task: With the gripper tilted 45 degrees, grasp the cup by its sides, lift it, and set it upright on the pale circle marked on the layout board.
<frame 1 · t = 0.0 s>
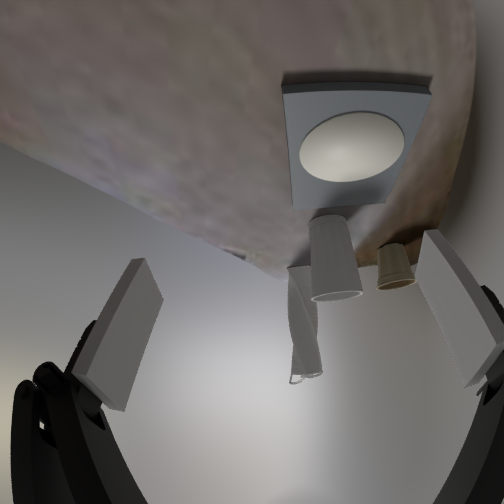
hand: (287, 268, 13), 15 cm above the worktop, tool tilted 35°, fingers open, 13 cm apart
skyscraper: (297, 268, 70), on the worktop
cup: (327, 222, 45), on the worktop
layout board: (348, 153, 28), on the worktop
flower pot: (389, 246, 58), on the worktop
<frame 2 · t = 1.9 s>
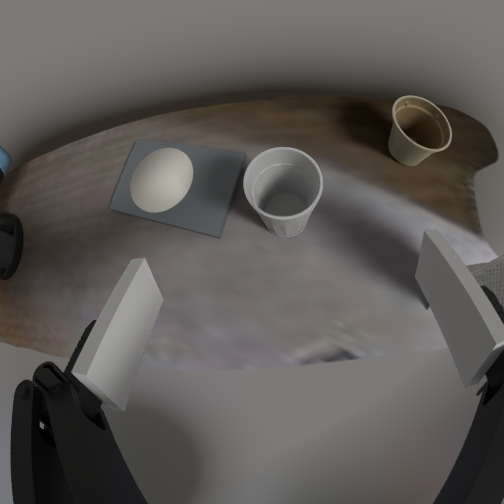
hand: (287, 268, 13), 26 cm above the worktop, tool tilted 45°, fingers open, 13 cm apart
skyscraper: (443, 295, 34), on the worktop
cup: (285, 215, 40), on the worktop
layout board: (174, 183, 43), on the worktop
flower pot: (404, 150, 39), on the worktop
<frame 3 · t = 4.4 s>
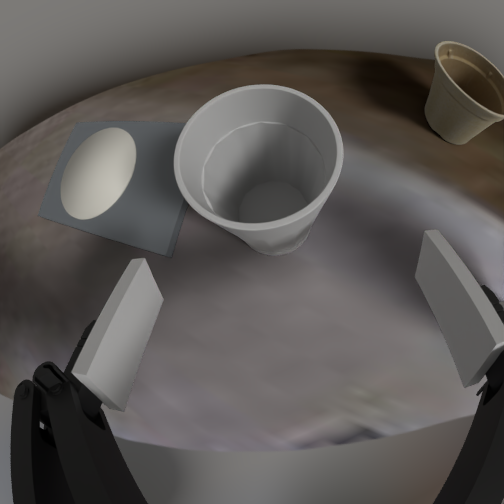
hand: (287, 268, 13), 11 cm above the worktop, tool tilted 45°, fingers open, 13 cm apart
skyscraper: (503, 333, 19), on the worktop
cup: (274, 219, 24), on the worktop
layout board: (113, 177, 27), on the worktop
flower pot: (446, 123, 23), on the worktop
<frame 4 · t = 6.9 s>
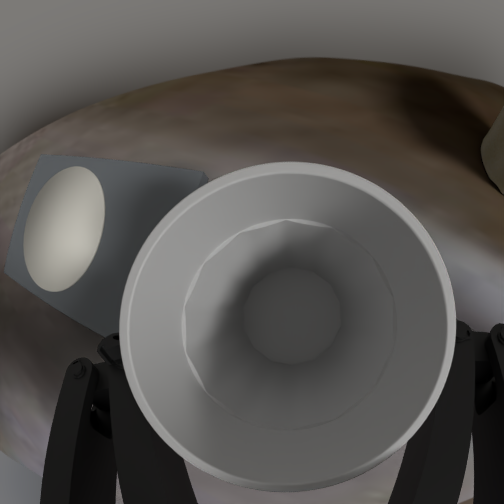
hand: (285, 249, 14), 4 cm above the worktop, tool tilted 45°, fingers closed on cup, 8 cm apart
cup: (292, 315, 17), on the worktop, touching gripper
layout board: (81, 234, 21), on the worktop
flower pot: (502, 168, 16), on the worktop
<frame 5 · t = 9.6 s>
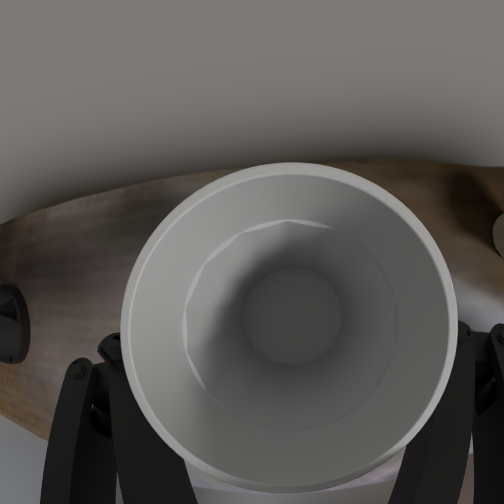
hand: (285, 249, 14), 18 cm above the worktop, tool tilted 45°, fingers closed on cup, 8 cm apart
cup: (293, 315, 17), point 13 cm above the worktop, touching gripper
when the fingers open (7 cm above the worktop, at t = 12.6 s): cup drops 2 cm, resting on layout board.
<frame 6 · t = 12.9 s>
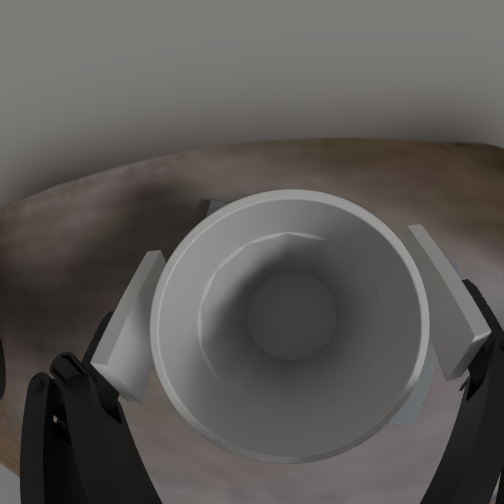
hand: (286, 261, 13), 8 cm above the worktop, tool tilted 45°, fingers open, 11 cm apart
cup: (292, 315, 19), point 1 cm above the worktop, touching layout board
layout board: (319, 320, 20), on the worktop
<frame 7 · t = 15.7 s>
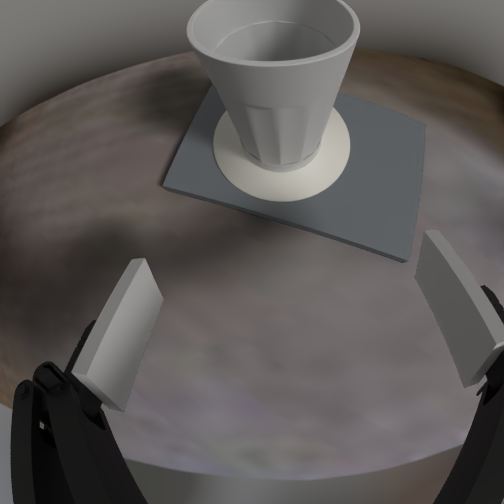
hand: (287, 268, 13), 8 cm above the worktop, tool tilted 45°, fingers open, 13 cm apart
cup: (281, 138, 21), point 1 cm above the worktop, touching layout board
layout board: (305, 151, 22), on the worktop
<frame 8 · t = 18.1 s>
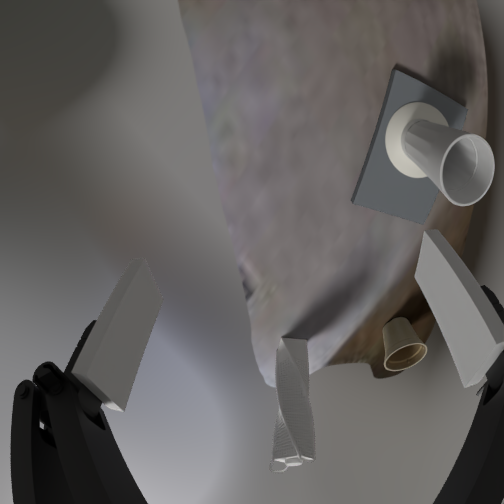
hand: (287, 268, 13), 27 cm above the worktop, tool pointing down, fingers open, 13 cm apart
skyscraper: (290, 344, 58), on the worktop
cup: (419, 140, 31), point 1 cm above the worktop, touching layout board
layout board: (411, 151, 33), on the worktop
flower pot: (395, 325, 54), on the worktop
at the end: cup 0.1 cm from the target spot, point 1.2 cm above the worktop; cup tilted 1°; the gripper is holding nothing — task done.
